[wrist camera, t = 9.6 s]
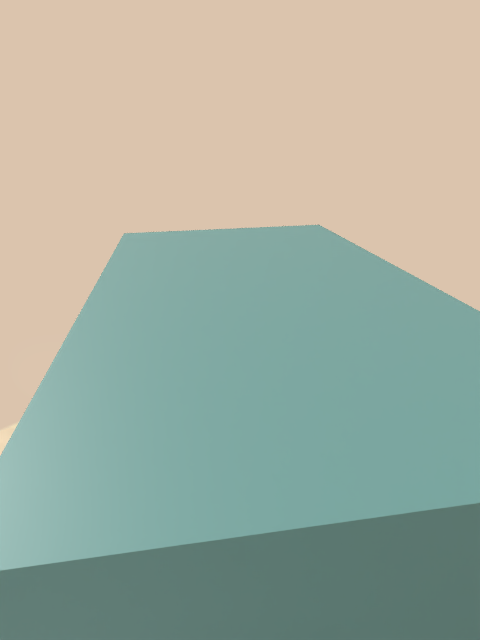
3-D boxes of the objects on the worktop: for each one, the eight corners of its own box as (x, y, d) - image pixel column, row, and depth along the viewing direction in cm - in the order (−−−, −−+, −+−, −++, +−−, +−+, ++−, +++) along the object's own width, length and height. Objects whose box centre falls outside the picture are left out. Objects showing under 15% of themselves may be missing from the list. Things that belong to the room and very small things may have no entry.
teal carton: (167, 1107, 8) (-68, 579, 2) (170, 604, 16) (124, 233, 10) (434, 1022, 8) (784, 459, 3) (303, 583, 16) (326, 224, 11)
